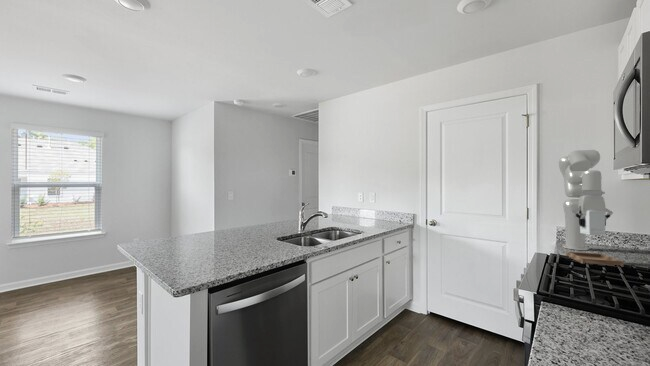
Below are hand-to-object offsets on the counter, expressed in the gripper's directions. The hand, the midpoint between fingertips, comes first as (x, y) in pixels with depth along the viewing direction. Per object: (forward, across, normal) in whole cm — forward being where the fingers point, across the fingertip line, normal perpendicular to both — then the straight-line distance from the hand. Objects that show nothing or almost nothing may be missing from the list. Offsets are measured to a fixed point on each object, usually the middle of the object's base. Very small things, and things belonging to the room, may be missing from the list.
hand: (592, 226), depth 150 cm
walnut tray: (+18, 0, 0) cm, 18 cm away
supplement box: (+4, 0, 0) cm, 4 cm away
